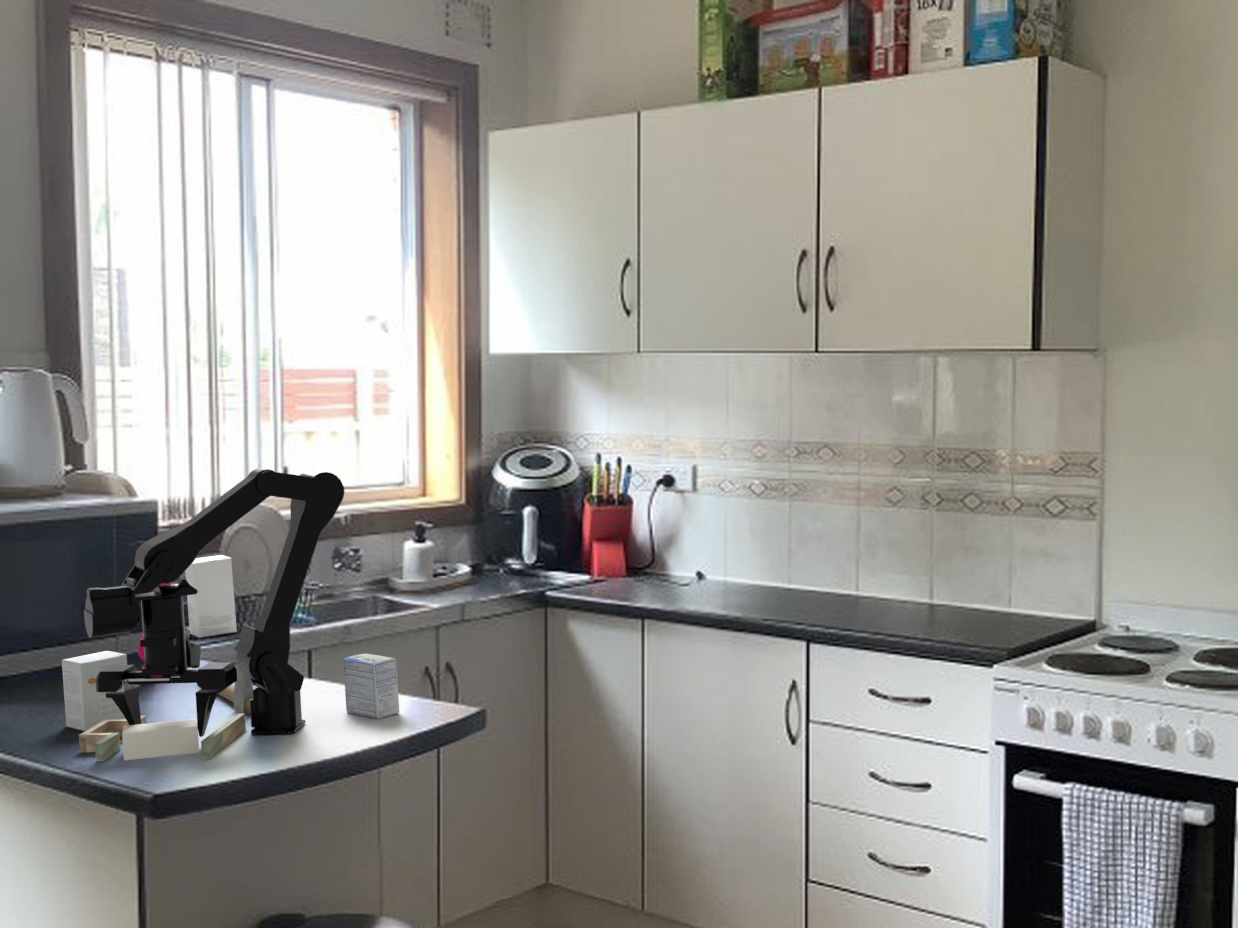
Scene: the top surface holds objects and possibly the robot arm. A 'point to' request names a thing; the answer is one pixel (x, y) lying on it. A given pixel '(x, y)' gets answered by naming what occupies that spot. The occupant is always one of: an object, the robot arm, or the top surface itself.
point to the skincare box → (211, 596)
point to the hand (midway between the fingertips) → (170, 736)
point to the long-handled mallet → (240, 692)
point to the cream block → (160, 739)
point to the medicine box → (371, 685)
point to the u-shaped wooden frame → (109, 732)
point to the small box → (88, 690)
